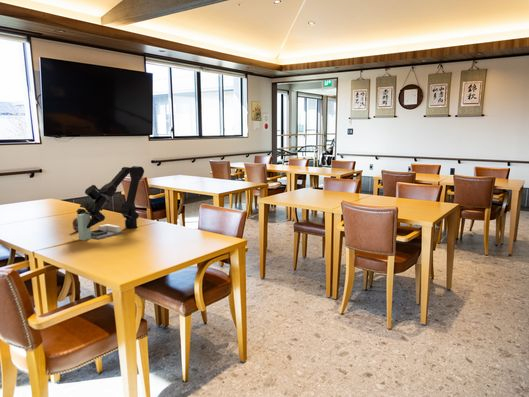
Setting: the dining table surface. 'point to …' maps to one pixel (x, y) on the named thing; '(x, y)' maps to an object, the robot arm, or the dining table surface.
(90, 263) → the dining table surface
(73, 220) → the tin
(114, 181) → the robot arm
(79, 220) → the post
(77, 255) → the dining table surface
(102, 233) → the baseplate
